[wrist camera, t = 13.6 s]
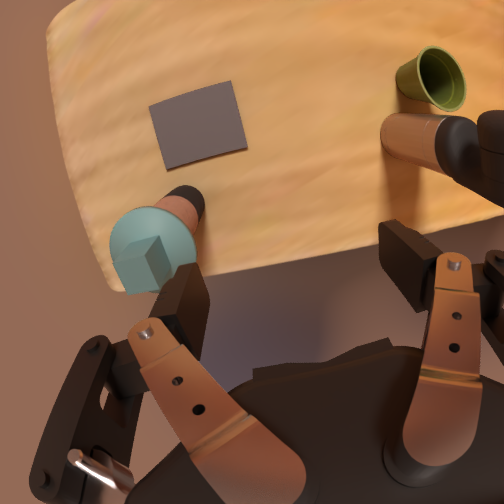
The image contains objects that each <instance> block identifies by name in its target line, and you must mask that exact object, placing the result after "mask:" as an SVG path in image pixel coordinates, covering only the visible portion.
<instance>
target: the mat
mask: <svg viewBox="0 0 504 504" xmlns="http://www.w3.org/2000/svg"><path fill="white" fill-rule="evenodd" d="M149 110H150V114H151V117H152V121H153V125H154V128H155V132H156V136H157V139H158V143H159V146H160V150H161V153H162V157H163V160H164V163H165V167H166V169H169V168H173V167H176V166H179V165H182V164H186V163H189V162H192V161H196V160H199V159H203V158H206V157H210V156H214V155H217V154H221V153H225V152H229V151H233V150H237V149H241V148H246V147H248V146H247V142H246V138H245V134H244V130H243V126H242V122H241V118H240V114H239V110H238V106H237V102H236V98H235V95H234V91H233V87H232V83H231V81H227V82H223V83H219V84H215V85H212V86H208V87H204V88H201V89H198V90H194V91H191V92H188V93H185V94H182V95H179V96H176V97H173V98H170V99H167V100H164V101H162V102H159V103H156V104H154V105H151V106H149Z"/></svg>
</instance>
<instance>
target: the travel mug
mask: <svg viewBox="0 0 504 504" xmlns="http://www.w3.org/2000/svg"><path fill="white" fill-rule="evenodd" d="M204 206H205V202H204V198H203V196H202V194H201V193H200V191H199V190H197V189H196V188H194V187H192V186H188V185H183V186H179V187H177V188H175V189H174V190H172V191H171V192H170V193H168V194H167V195H166V196H164V197H163V198H162V199H161V200H159V201H158V202H157V203H156V204H155V205H154V206H153V207H158V208H162V209H165V210H167V211H169V212H171V213H173V214H175V215H176V216H177V217H179V218H180V219H181V220H182V221H183V222H184V223H185V224H186V225H187V227H188V228H189V229H190V231H191V233H192V235H194V233H195V231H196V229H197V226H198V224H199V221H200V219H201V216H202V213H203V211H204Z"/></svg>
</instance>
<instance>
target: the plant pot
mask: <svg viewBox="0 0 504 504" xmlns="http://www.w3.org/2000/svg"><path fill="white" fill-rule="evenodd" d="M396 82H397V85H398V87H399V89H400V91H402V93H403V94H404V95H405V96H407V97H408V98H411V99H415V100H420V101H424V102H428V103H431V104H433V105H435V106H436V107H438V108H439V109H441V110H444V111H447V112H453V111H456V110H458V109H459V108H460V107H461V106H462V105H463V103H464V101H465V98H466V81H465V77H464V74H463V72H462V69H461V67H460V65H459V64H458V62H457V61H456V60H455V58H454V57H453V56H452V55H451V54H450V53H448V52H447V51H446V50H444V49H442V48H440V47H437V46H427V47H425V48H424V49H423V50H422V51H421V52H420V53H419V55H418V56H417V57H416V58H414V59H413V60H411V61H409V62H408V63H406V64H404V65H403V66H401V67H400V68H399V69H398V71H397V73H396Z"/></svg>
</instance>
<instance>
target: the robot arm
mask: <svg viewBox="0 0 504 504" xmlns="http://www.w3.org/2000/svg"><path fill="white" fill-rule="evenodd" d="M381 141H382V144H383V146H384V148H385V149H386V151H387V152H388V153H389V154H390V155H391V156H393V157H395V158H398V159H401V160H404V161H407V162H410V163H413V164H416V165H419V166H422V167H425V168H428V169H430V170H433V171H436V172H439V173H441V174H444V175H447V176H449V177H452V178H453V180H454V181H456V182H457V183H458V184H460V185H462V186H464V187H466V188H468V189H470V190H472V191H474V192H475V193H477V194H479V195H480V196H482V197H484V198H485V199H487V200H489V201H491V202H492V203H494V204H496V205H498V206H500V207H502V208H504V110H491V111H487V112H484V113H482V114H481V115H480V116H479V117H478V120H477V125H476V124H475V123H474V122H473V121H472V120H470V119H468V118H465V117H461V116H450V115H435V114H413V113H395V114H391V115H390V116H388V117H387V118H386V119H385V120H384V122H383V124H382V127H381ZM378 234H379V260H380V263H381V266H382V268H383V269H384V271H385V272H386V273H387V274H388V276H389V277H390V278H391V280H392V281H393V282H394V283H395V285H396V286H397V287H398V289H399V290H400V291H401V292H402V294H403V295H404V297H405V298H406V299H407V301H408V302H409V303H410V305H411V306H412V307H413V309H414V310H415V312H416V313H419V312H422V311H425V310H428V312H429V313H428V317H427V322H426V327H425V332H424V337H423V341H422V346H421V349H419V348H415V347H408V346H392V344H391V342H390V340H389V338H384V339H381V340H378V341H375V342H371V343H368V344H365V345H361V346H357V347H355V348H353V349H351V350H349V351H348V352H345V353H343V354H341V355H339V356H337V357H335V358H333V359H331V360H329V361H326V362H322V363H284V364H279V365H273V366H267V367H261V368H255V369H253V379H252V380H249V381H247V382H244V383H242V384H241V385H239V386H237V387H235V388H234V389H232V390H231V391H229V392H228V393H227V392H226V391H225V390H224V389H223V388H222V387H221V386H220V385H219V384H218V383H217V382H216V381H215V380H214V379H213V378H212V376H211V375H210V374H209V373H208V372H207V371H206V370H205V369H204V368H203V366H202V365H201V364H200V363H199V362H198V361H200V357H201V352H202V346H203V340H204V335H205V329H206V324H207V318H208V313H209V307H210V299H209V294H208V291H207V288H206V285H205V283H204V280H203V277H202V275H201V272H200V269H199V267H198V265H197V263H196V262H193V263H188V264H183V265H179V266H178V268H177V270H176V272H175V275H174V277H173V278H170V279H169V280H168V281H167V282H166V283H165V284H164V285H163V286H162V288H161V291H160V293H159V295H158V297H157V301H155V304H154V306H153V308H152V310H151V313H150V315H149V317H148V318H146V319H143V320H141V321H139V322H138V323H136V324H135V325H134V326H133V327H132V328H131V329H130V330H129V332H128V335H127V338H128V339H126V340H123V341H120V342H117V343H114V344H111V342H110V341H109V339H108V338H107V337H106V336H104V335H98V336H95V337H93V338H91V339H89V340H88V341H86V342H85V343H84V344H83V346H82V347H81V349H80V351H79V353H78V354H77V356H76V358H75V361H74V363H73V365H72V367H71V369H70V371H69V373H68V375H67V378H66V379H65V381H64V383H63V386H62V388H61V390H60V392H59V395H58V397H57V399H56V402H55V404H54V406H53V409H52V411H51V414H50V416H49V419H48V421H47V424H46V427H45V429H44V432H43V435H42V438H41V440H40V443H39V446H38V449H37V452H36V455H35V458H34V462H33V465H32V468H31V472H30V476H29V486H30V489H31V492H32V493H33V495H34V496H35V497H36V498H37V499H38V500H40V501H42V502H44V503H46V504H504V384H501V383H499V382H497V381H494V380H492V379H490V378H487V377H485V376H483V375H480V357H481V332H482V334H483V335H484V336H485V338H486V339H487V341H488V342H489V344H490V345H491V347H492V348H493V350H494V351H495V353H496V355H497V356H498V358H499V359H500V361H501V363H502V364H503V366H504V309H503V308H502V306H503V303H504V251H500V250H490V251H488V252H487V253H486V256H485V261H484V263H482V264H471V263H470V261H469V259H468V258H466V257H465V256H463V255H461V254H458V253H443V252H442V251H441V250H440V249H438V248H437V247H436V246H435V245H434V244H432V243H431V242H429V240H427V239H426V238H424V237H423V236H422V235H421V234H420V233H419V232H417V231H415V230H412V229H410V228H406V227H405V226H404V225H402V224H401V223H400V222H399V221H397V220H396V219H394V220H389V221H385V222H380V223H379V226H378ZM103 387H105V388H106V389H107V390H108V391H109V393H108V396H107V400H106V403H105V406H104V409H103V410H102V408H101V406H100V395H101V392H102V389H103ZM147 391H151V393H152V395H153V396H154V398H155V400H156V402H157V403H158V405H159V407H160V409H161V410H162V412H163V414H164V415H165V417H166V419H167V420H168V422H169V423H170V425H171V427H172V428H173V430H174V431H175V433H176V435H177V436H178V438H179V439H180V441H181V442H180V443H179V444H178V445H177V446H176V447H175V448H174V449H173V450H172V451H171V452H170V453H169V454H168V455H167V456H166V457H165V458H164V459H163V460H162V461H161V462H160V463H159V464H157V465H156V466H155V467H154V468H153V469H152V470H151V471H150V472H149V473H148V474H147V475H146V476H145V477H144V478H143V479H141V480H140V481H139V482H138V483H137V484H135V483H134V478H133V474H132V472H131V471H130V470H129V464H130V457H131V452H132V447H133V441H134V436H135V431H136V426H137V421H138V417H139V412H140V407H141V403H142V399H143V394H144V392H147Z"/></svg>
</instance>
